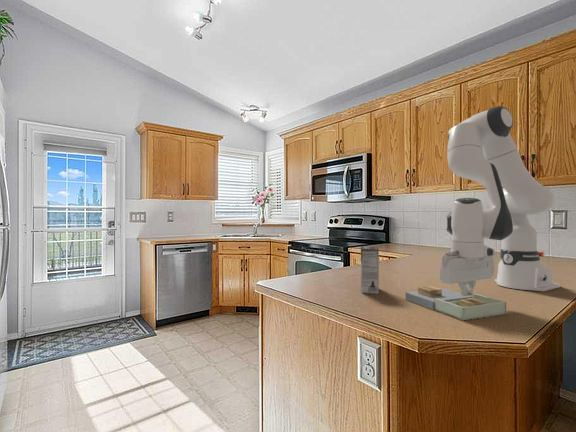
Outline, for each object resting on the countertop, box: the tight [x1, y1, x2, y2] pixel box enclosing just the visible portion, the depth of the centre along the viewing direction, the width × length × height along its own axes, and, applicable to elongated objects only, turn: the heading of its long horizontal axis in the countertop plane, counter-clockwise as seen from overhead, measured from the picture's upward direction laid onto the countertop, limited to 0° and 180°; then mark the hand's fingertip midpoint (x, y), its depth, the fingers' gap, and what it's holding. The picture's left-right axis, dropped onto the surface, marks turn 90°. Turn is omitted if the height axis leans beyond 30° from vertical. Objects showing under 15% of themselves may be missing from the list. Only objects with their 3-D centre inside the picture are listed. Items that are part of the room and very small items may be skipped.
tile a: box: [459, 298, 486, 307], centre depth 97 cm, size 5×5×2 cm
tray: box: [433, 293, 507, 322], centre depth 94 cm, size 16×10×4 cm, turn 110°
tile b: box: [417, 285, 442, 297], centre depth 105 cm, size 5×5×2 cm
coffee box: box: [360, 246, 380, 295], centre depth 120 cm, size 9×6×16 cm
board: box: [405, 287, 473, 311], centre depth 105 cm, size 16×12×2 cm
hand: (467, 295), depth 99 cm, fingers closed
